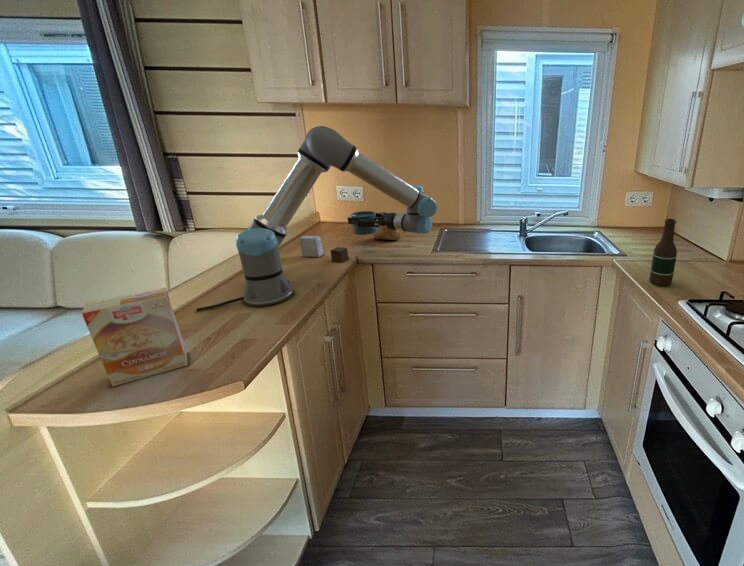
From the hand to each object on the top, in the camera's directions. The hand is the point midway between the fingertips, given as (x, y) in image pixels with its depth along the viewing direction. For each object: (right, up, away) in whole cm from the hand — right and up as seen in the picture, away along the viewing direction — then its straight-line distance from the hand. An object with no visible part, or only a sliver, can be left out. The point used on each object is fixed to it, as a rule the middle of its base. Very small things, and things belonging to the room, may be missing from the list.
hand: (357, 217), depth 182 cm
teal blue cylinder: (+3, -6, +1) cm, 7 cm away
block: (-6, -15, -6) cm, 17 cm away
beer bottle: (+123, -29, -31) cm, 130 cm away
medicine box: (-21, -17, +2) cm, 27 cm away
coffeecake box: (-26, -51, -80) cm, 98 cm away
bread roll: (+7, -8, +25) cm, 27 cm away
